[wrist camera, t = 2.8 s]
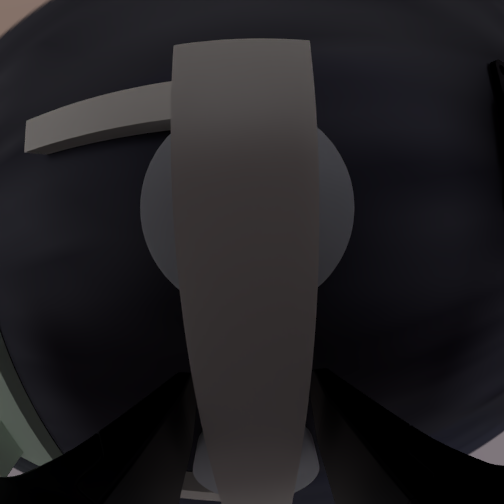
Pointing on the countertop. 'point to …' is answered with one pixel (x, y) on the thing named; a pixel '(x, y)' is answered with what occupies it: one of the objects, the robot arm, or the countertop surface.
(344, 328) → the countertop surface
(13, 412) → the stand
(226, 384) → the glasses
